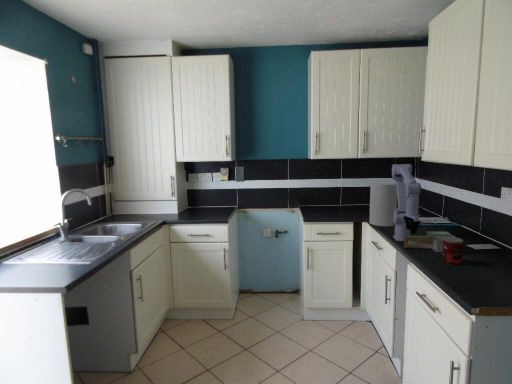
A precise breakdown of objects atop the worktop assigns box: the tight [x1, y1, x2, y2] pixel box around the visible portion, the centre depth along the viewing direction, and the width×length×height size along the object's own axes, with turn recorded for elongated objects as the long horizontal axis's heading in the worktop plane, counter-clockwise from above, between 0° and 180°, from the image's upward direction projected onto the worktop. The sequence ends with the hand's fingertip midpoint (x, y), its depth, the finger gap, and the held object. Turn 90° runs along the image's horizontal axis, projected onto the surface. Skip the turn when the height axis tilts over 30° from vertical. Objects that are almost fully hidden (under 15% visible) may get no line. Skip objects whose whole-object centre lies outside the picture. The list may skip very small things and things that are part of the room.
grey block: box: [425, 230, 456, 253], centre depth 171 cm, size 14×11×8 cm
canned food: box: [441, 236, 464, 265], centre depth 152 cm, size 8×8×11 cm
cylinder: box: [369, 182, 398, 227], centre depth 225 cm, size 17×17×28 cm
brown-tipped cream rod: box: [403, 235, 433, 249], centre depth 173 cm, size 2×14×6 cm, turn 82°
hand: (411, 231), depth 172 cm, fingers open, 7 cm apart
